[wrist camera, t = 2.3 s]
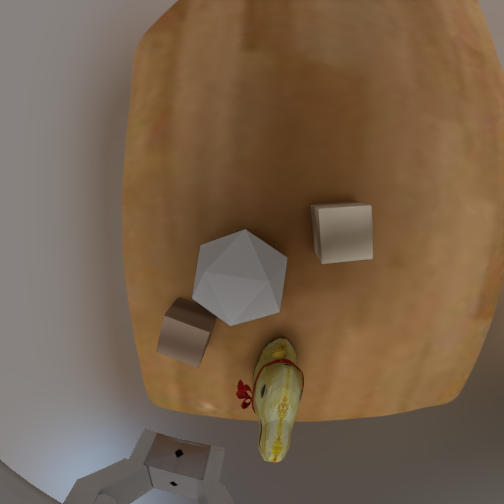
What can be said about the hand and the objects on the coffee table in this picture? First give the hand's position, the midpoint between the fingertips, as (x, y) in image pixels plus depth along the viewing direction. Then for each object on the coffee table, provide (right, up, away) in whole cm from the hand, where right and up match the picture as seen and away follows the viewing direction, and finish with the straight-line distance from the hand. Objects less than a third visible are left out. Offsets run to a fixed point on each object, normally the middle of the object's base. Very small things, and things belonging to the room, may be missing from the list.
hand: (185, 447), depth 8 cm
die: (+2, +6, +23) cm, 24 cm away
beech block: (+11, +10, +21) cm, 26 cm away
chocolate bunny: (+5, -7, +26) cm, 27 cm away
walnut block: (-5, -1, +25) cm, 25 cm away
